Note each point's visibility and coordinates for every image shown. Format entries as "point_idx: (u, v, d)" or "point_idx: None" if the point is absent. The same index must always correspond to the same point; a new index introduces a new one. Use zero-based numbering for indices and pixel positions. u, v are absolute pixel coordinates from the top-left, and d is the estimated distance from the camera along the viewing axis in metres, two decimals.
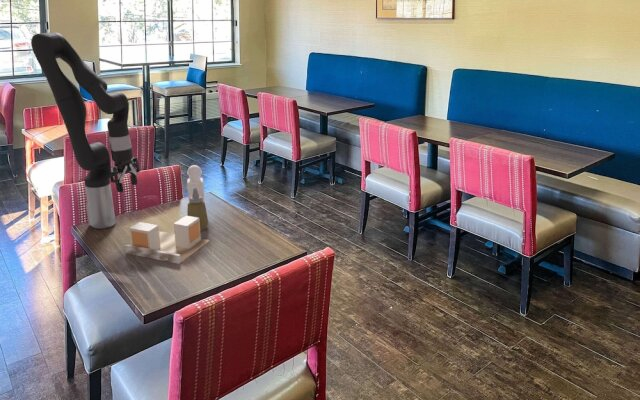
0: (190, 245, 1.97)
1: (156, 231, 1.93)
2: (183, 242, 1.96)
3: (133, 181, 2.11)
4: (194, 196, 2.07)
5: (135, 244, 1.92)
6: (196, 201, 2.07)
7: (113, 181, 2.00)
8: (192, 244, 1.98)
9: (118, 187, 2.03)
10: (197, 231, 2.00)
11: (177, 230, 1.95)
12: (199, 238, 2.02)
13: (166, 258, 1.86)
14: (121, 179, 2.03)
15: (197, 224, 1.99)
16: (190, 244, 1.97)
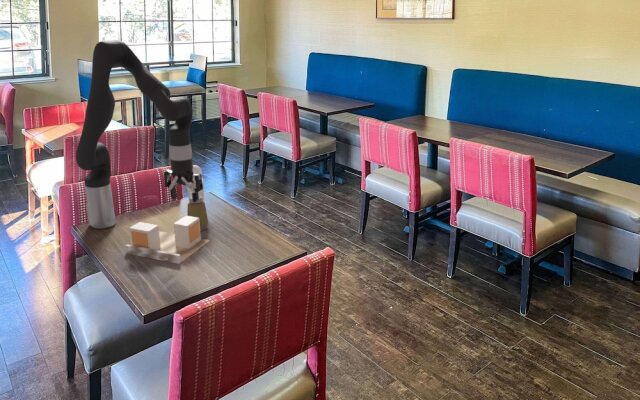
0: (190, 245, 1.97)
1: (156, 231, 1.93)
2: (183, 242, 1.96)
3: (175, 195, 1.95)
4: None
5: (135, 244, 1.92)
6: None
7: (200, 189, 1.90)
8: (192, 244, 1.98)
9: (197, 196, 1.92)
10: (197, 231, 2.00)
11: (177, 230, 1.95)
12: (199, 238, 2.02)
13: (166, 258, 1.86)
14: (195, 187, 1.92)
15: (197, 224, 1.99)
16: (190, 244, 1.97)
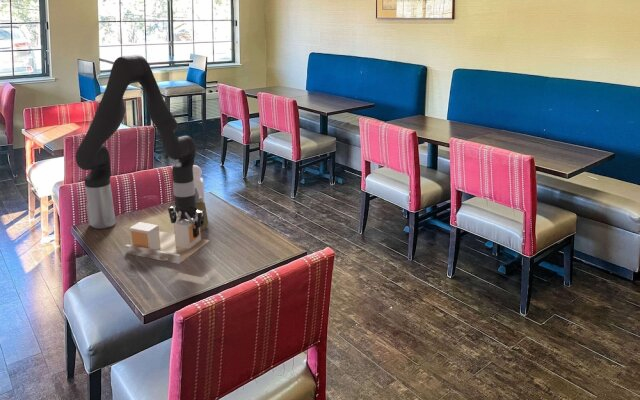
0: (190, 245, 1.97)
1: (156, 231, 1.93)
2: (183, 242, 1.96)
3: None
4: None
5: (135, 244, 1.92)
6: (196, 201, 2.07)
7: (201, 225, 1.96)
8: (192, 244, 1.98)
9: (198, 231, 1.98)
10: None
11: (177, 230, 1.95)
12: (199, 238, 2.02)
13: (166, 258, 1.86)
14: None
15: None
16: (190, 244, 1.97)
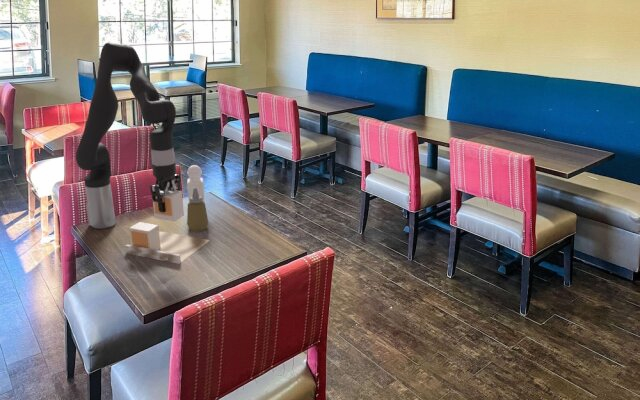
0: (156, 216, 1.85)
1: (156, 231, 1.93)
2: None
3: None
4: (194, 196, 2.07)
5: (135, 244, 1.92)
6: (196, 201, 2.07)
7: (155, 200, 1.79)
8: (160, 217, 1.85)
9: (160, 207, 1.81)
10: (167, 208, 1.82)
11: None
12: (172, 218, 1.83)
13: (166, 258, 1.86)
14: (164, 198, 1.81)
15: (167, 201, 1.81)
16: (156, 215, 1.85)
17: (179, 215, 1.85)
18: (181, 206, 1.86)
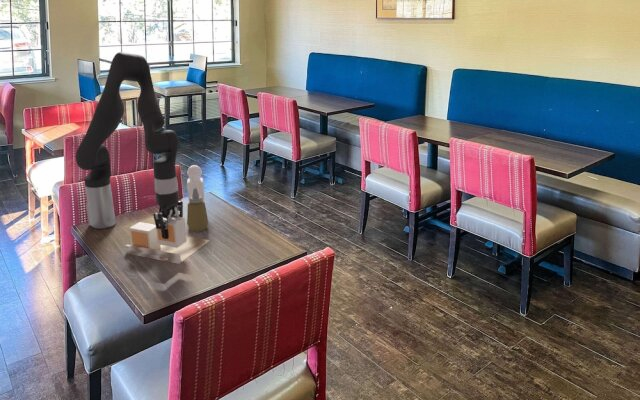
0: (160, 242, 1.89)
1: None
2: None
3: None
4: (194, 196, 2.07)
5: (135, 244, 1.92)
6: (196, 201, 2.07)
7: (159, 228, 1.82)
8: (163, 243, 1.88)
9: (163, 234, 1.85)
10: (170, 235, 1.86)
11: None
12: (175, 244, 1.87)
13: (166, 258, 1.86)
14: (167, 225, 1.84)
15: (170, 228, 1.85)
16: (160, 241, 1.88)
17: (182, 241, 1.89)
18: (184, 232, 1.89)
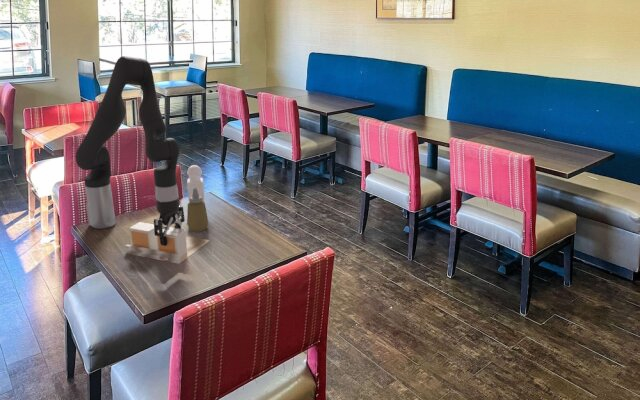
0: None
1: None
2: None
3: None
4: (194, 196, 2.07)
5: (135, 244, 1.92)
6: (196, 201, 2.07)
7: (157, 234, 1.82)
8: None
9: (162, 240, 1.84)
10: (170, 247, 1.87)
11: None
12: None
13: (166, 258, 1.86)
14: (166, 232, 1.84)
15: (171, 240, 1.86)
16: None
17: (182, 253, 1.91)
18: (184, 244, 1.91)
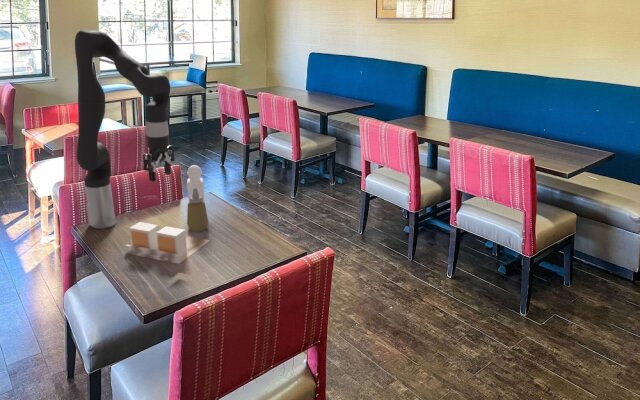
0: None
1: (156, 231, 1.93)
2: None
3: (166, 170, 1.97)
4: (194, 196, 2.07)
5: (135, 244, 1.92)
6: (196, 201, 2.07)
7: (146, 169, 1.86)
8: None
9: (151, 176, 1.89)
10: (170, 247, 1.87)
11: None
12: None
13: (166, 258, 1.86)
14: (155, 168, 1.89)
15: (171, 240, 1.86)
16: None
17: (182, 253, 1.91)
18: (184, 244, 1.91)
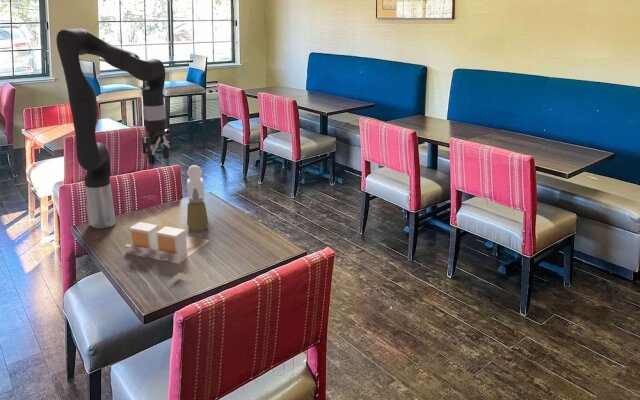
0: None
1: (156, 231, 1.93)
2: None
3: (165, 154, 2.02)
4: (194, 196, 2.07)
5: (135, 244, 1.92)
6: (196, 201, 2.07)
7: (145, 152, 1.91)
8: None
9: (150, 159, 1.93)
10: (170, 247, 1.87)
11: None
12: None
13: (166, 258, 1.86)
14: (154, 151, 1.93)
15: (171, 240, 1.86)
16: None
17: (182, 253, 1.91)
18: (184, 244, 1.91)
